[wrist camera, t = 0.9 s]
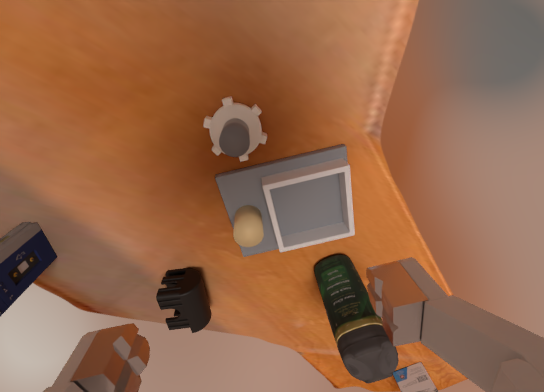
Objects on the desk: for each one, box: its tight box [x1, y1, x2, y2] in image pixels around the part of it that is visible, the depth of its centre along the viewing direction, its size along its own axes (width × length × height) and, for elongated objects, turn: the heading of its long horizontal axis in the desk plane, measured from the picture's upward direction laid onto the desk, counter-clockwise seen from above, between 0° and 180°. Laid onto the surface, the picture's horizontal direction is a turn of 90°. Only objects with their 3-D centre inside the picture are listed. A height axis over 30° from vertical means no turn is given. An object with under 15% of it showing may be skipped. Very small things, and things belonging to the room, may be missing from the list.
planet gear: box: [203, 96, 267, 162], centre depth 33 cm, size 9×8×7 cm
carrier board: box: [215, 144, 355, 257], centre depth 40 cm, size 16×20×6 cm
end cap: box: [156, 268, 211, 333], centre depth 46 cm, size 10×7×7 cm
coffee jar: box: [314, 255, 398, 383], centre depth 43 cm, size 10×8×19 cm
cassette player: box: [0, 222, 57, 316], centre depth 36 cm, size 7×2×12 cm, turn 3°
